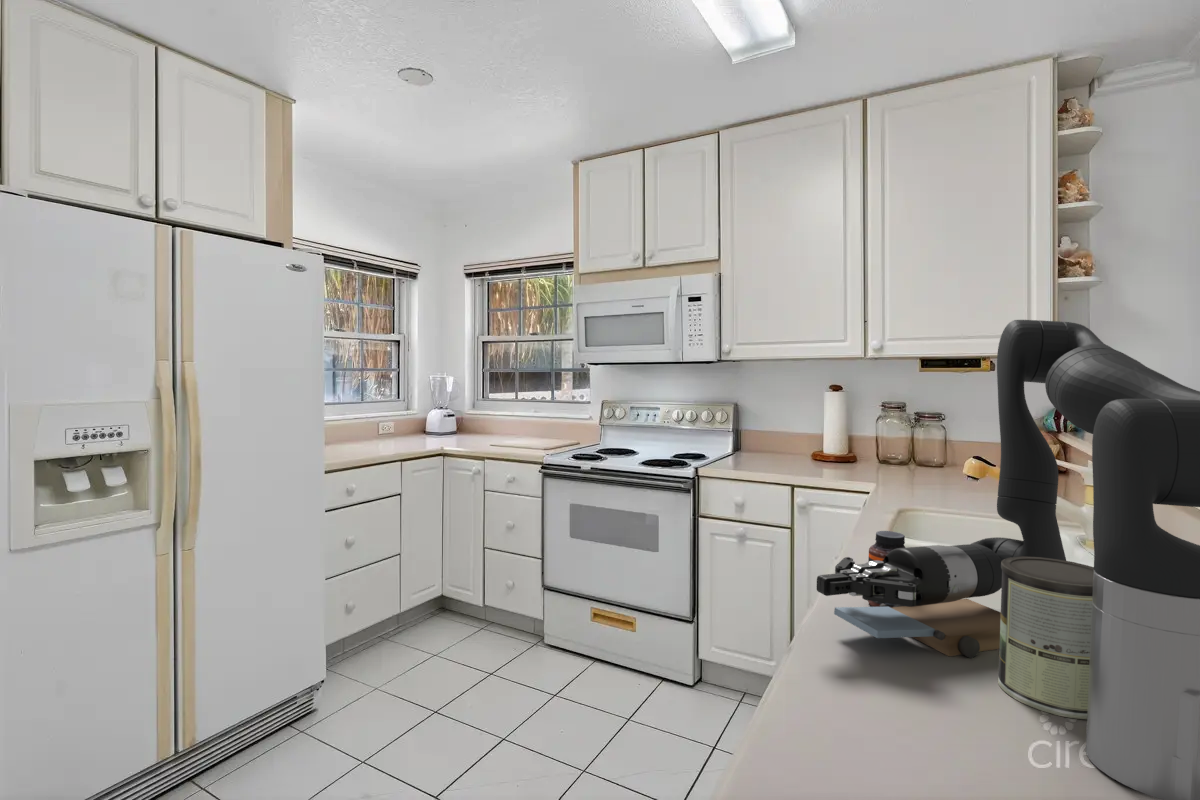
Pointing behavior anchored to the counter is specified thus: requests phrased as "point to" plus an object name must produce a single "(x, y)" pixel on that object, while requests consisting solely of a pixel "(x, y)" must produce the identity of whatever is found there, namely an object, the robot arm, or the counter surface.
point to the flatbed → (957, 626)
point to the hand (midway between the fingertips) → (820, 585)
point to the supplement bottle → (885, 551)
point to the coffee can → (1046, 634)
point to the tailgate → (884, 622)
